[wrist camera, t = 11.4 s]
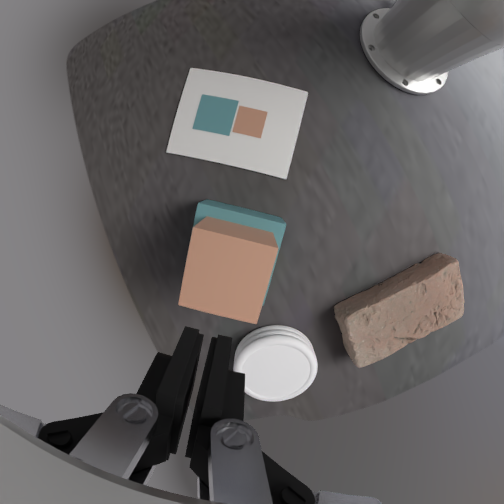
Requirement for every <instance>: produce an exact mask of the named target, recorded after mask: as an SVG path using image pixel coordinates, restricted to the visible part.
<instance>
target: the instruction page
mask: <svg viewBox="0 0 504 504" xmlns="http://www.w3.org/2000/svg"><path fill="white" fill-rule="evenodd" d="M307 96H308V92H306V91H302V90H299V89H295V88H292V87H288V86H284V85H280V84H276V83H272V82H268V81H264V80H259V79H255V78H250V77H245V76H240V75H235V74H229V73H224V72H217V71H211V70H204V69H196V68H190V71H189V74H188V77H187V80H186V83H185V86H184V90H183V93H182V96H181V99H180V103H179V106H178V110H177V113H176V117H175V120H174V124H173V128H172V131H171V135H170V139H169V143H168V147H167V151H166V152H167V153H172V154H178V155H183V156H188V157H193V158H198V159H203V160H208V161H212V162H217V163H222V164H226V165H230V166H235V167H239V168H243V169H247V170H252V171H256V172H260V173H264V174H268V175H271V176H275V177H279V178H283V179H287V175H288V171H289V167H290V164H291V160H292V156H293V152H294V148H295V144H296V140H297V136H298V132H299V128H300V124H301V120H302V116H303V112H304V108H305V104H306V100H307Z"/></svg>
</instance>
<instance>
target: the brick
mask: <svg viewBox="0 0 504 504" xmlns="http://www.w3.org/2000/svg"><path fill="white" fill-rule="evenodd" d="M334 312H335V318H336V320H337V322H338V324H339V327H340V330H341V332H342V338H343V344H344V346H345V349H346V351H347V353H348V355H349V357H350V358H351V360H353V363H354V364H355V365H356V366H357V367H358V368H361V367H364V366H367V365H369V364H372V363H374V362H376V361H379V360H382V359H383V358H385V357H387V356H389V355H391V354H393V353H394V352H396V351H397V350H399V349H401V348H403V347H404V346H406V345H407V344H408V343H411V342H413V341H415V340H416V339H419V338H423V337H425V336H426V335H428V334H429V333H430V332H433V331H436V330H438V329H440V328H442V327H444V326H446V325H448V324H450V323H452V322H453V321H455V320H457V319H458V318H460V317H461V316H462V315H463V313H464V295H463V284H462V280H461V276H460V270H459V263H458V261H457V259H456V258H453V257H451V256H448V255H446V254H442V253H438V254H434V255H432V256H431V257H429V258H426V259H425V260H424V261H423V262H422V263H420V264H419V263H417V264H414V265H413V266H412V267H410V268H408V269H406V270H404V271H402V272H401V273H398V274H396V275H395V276H393V277H391V278H389V279H387V280H385V281H384V282H382V283H380V284H378V285H375V286H373V287H372V288H370V289H368V290H366V291H363V292H360V293H359V294H356V295H354V296H352V297H350V298H348V299H346V300H344V301H342V302H340V303H338V304H336V305H335V306H334Z"/></svg>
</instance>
